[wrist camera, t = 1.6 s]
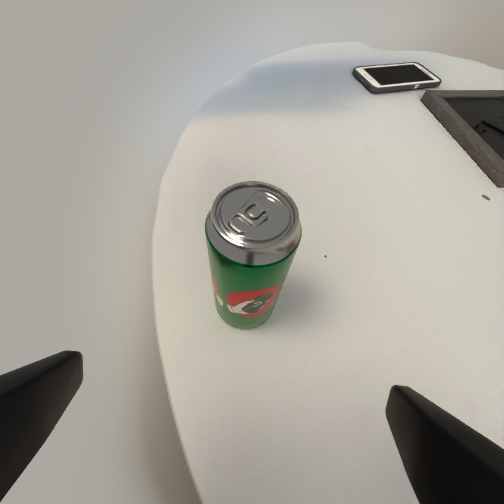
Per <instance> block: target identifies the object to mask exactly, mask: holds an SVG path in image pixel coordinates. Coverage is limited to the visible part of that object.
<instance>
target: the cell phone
mask: <svg viewBox="0 0 504 504" xmlns="http://www.w3.org/2000/svg"><path fill="white" fill-rule="evenodd" d="M353 75H354V76H355V77H357V79H358V80H360V81H361V82H362V83H363V84H364V85H365V86H366V87H367V88H368V89H369V90H370V91H371V92H373V93H380V92H389V91H399V90H408V89H417V88H426V87H436V86H439V85H440V83H441V81H442V80H441V79H440V78H439V77H437V76H436V75H435V74H433V73H432V72H431V71H429V70H428V69H427V68H425V67H424V66H422V65H421V64H419V63H417V62H409V63H396V64H384V65H371V66H359V67H355V68H354V69H353Z"/></svg>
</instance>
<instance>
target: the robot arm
mask: <svg viewBox="0 0 504 504" xmlns="http://www.w3.org/2000/svg"><path fill="white" fill-rule="evenodd" d="M82 380H83V358H82V354H81V353H80V352H77V351H62V352H60V353H57V354H55V355H52V356H49V357H47V358H45V359H42V360H39V361H36V362H34V363H31V364H29V365H26V366H23V367H21V368H18V369H16V370H13V371H10V372H8V373H6V374H3V375H0V502H1V500H2V499H3V498H4V496H5V495H6V493H7V492H8V491H9V490H10V488H11V487H12V485H13V484H14V483H15V482H16V480H17V479H18V478H19V476H20V475H21V474H22V472H23V471H24V470H25V468H26V467H27V465H28V464H29V463H30V461H31V460H32V459H33V457H34V456H35V455H36V453H37V452H38V450H39V449H40V448H41V447H42V445H43V444H44V442H45V441H46V439H47V438H48V436H49V435H50V433H51V432H52V430H53V429H54V427H55V425H56V424H57V422H58V421H59V419H60V417H61V416H62V414H63V413H64V411H65V410H66V408H67V406H68V405H69V403H70V402H71V400H72V398H73V397H74V395H75V394H76V392H77V390H78V389H79V387H80V385H81V383H82ZM386 418H387V421H388V424H389V426H390V429H391V432H392V435H393V437H394V440H395V443H396V446H397V449H398V451H399V454H400V457H401V460H402V462H403V465H404V468H405V471H406V473H407V476H408V478H409V481H410V483H411V485H412V488H413V490H414V492H415V494H416V497H417V499H418V501H419V503H420V504H504V449H503V448H501V447H500V446H498V445H497V444H495V443H494V442H492V441H491V440H489V439H488V438H486V437H484V436H483V435H481V434H480V433H478V432H477V431H475V430H474V429H472V428H471V427H469V426H468V425H466V424H465V423H463V422H462V421H460V420H459V419H457V418H456V417H454V416H452V415H451V414H449V413H448V412H446V411H445V410H443V409H442V408H440V407H439V406H437V405H436V404H434V403H433V402H431V401H430V400H428V399H427V398H425V397H424V396H422V395H420V394H419V393H417V392H416V391H414V390H413V389H411V388H410V387H407V386H400V385H394V386H392V388H391V390H390V394H389V398H388V401H387V405H386Z"/></svg>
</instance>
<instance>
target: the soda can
mask: <svg viewBox="0 0 504 504" xmlns="http://www.w3.org/2000/svg"><path fill="white" fill-rule="evenodd" d="M205 234H206V241H207V248H208V255H209V262H210V269H211V276H212V282H213V289H214V296H215V303H216V308H217V311H218V313H219V315H220V316H221V318H222V319H223V320H224V321H225V322H226V323H228V324H229V325H231V326H233V327H236V328H240V329H251V328H255V327H257V326H260V325H261V324H263V323H264V322H265V321H266V320H267V319H268V318H269V317H270V315H271V313H272V311H273V309H274V306H275V304H276V301H277V299H278V296H279V294H280V291H281V289H282V286H283V284H284V281H285V279H286V276H287V274H288V271H289V269H290V266H291V264H292V261H293V258H294V256H295V253H296V251H297V248H298V246H299V243H300V240H301V235H302V228H301V223H300V220H299V212H298V209H297V206H296V204H295V202H294V201H293V199H292V198H291V197H290V196H289V195H288V194H287V193H286V192H284V191H283V190H282V189H280V188H278V187H276V186H274V185H271V184H268V183H264V182H257V181H247V182H241V183H237V184H234V185H232V186H229V187H228V188H226V189H224V190H223V191H222V192H221V193H220V194H219V195H218V196H217V197H216V199H215V200H214V202H213V205H212V208H211V210H210V211H209V213H208V215H207V218H206V222H205Z"/></svg>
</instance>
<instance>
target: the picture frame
mask: <svg viewBox="0 0 504 504" xmlns="http://www.w3.org/2000/svg"><path fill="white" fill-rule="evenodd" d="M421 101H422V103H423V104H424V105H425V106H426V107H427V108H428V109H429V110H430V112H431V113H432V114H433V115H434V116H435V117H436V118H437V119H438V121H439V122H440V123H441V124H442V125H443V126H444V127H445V128H446V130H447V131H448V132H449V133H450V134H451V135H452V136H453V137H454V138H455V140H456V141H457V142H458V143H459V144H460V145H461V146H462V147H463V149H464V150H465V151H466V152H467V153H468V154H469V155H470V156H471V158H472V159H473V160H474V161H475V162H476V163H477V164H478V165H479V167H480V168H481V169H482V170H483V171H484V172H485V173H486V174H487V176H488V177H489V178H490V179H491V180H492V181H493V182H494V183H495V185H496V186H497V187H504V90H426V92H425V93H424V95H423V97H422V98H421Z"/></svg>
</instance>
